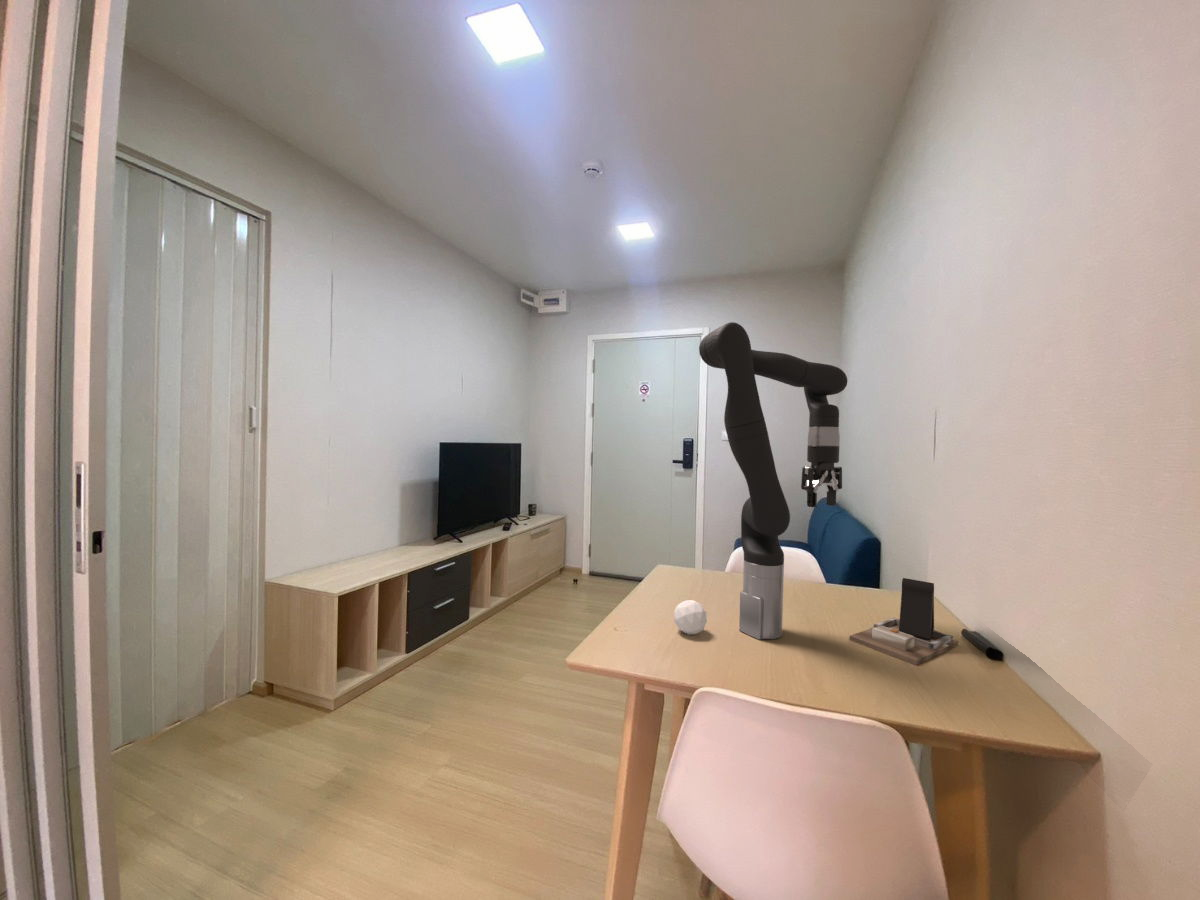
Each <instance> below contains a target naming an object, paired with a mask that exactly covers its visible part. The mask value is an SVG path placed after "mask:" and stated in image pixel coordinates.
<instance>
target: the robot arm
mask: <svg viewBox="0 0 1200 900" xmlns="http://www.w3.org/2000/svg"><path fill="white" fill-rule="evenodd" d="M699 343H700V344H699V346H698V352H699V355H700V358H701V359H702V361H703V362H704V363H705V364H706V365H707V366H710V367H712V368H715V369H722V370H724V372H725V376H726V380H727V394H726V402H725V407H724V415H723V418H724V419H723V421H724V426H725V427H724V428H725V432H726V436H727V442H728V444H729V448H730V450H731V453H732V455H733V457H734V458H735V461H736V463H737V464H738V467H739V468H740V470H741V472H742V474H743V476H744V478H745V482H746V485H747V488H748V489H747V490H748V493H749V497H748V499H746V500H745V502H744V504H743V505H742V509H741V517H740V529H741V531H740V534H741V537H740V539H741V548H742V551H743V573H742V574H743V576H742V578H743V579H742V580H743V581H742V591H740V592H739V593H740V594H739V622H738V624H739V628H738V629H739V630H738V631H740V632H742V633H745V634H747V635H748V636H751V637H753V638H755V639H758V640H775V639H776V640H777V639H780V638H781V637H782V636H783V618H784V617H783V613H784V610H783V609H784V607H783V606H784V573H785V570H784V569H785V568H784V567H785V554H784V551H783V549H782V547H781V544H780V541H779V536H781V535H783V534H784V533H785V532H786V531H787V529H788V528H789V526H790V522H791V514H790V513H791V511H790V509H789V508H790V507H789V505H788V502H787V499H786V497H785V494H784V491H783V489H782V486H781V484H780V480H779V476H778V473H777V470H776V469H777V468H776V464H775V459H774V455H773V450H772V446H771V443H770V437H769V432H768V427H767V423H766V420H765V415H764V412H763V409H762V404H761V400H760V395H759V394H760V393H759V390H758V386H757V380H756V376H760V377H763V378H767V379H770V380H774V381H776V382H779V383H783V384H786V385H789V386H792V387H794V388H803V392H804V396H805V397H804V398H805V399H806V404H807V408H808V412H809V414H808V415H809V418H808V419H809V420H808V427H809V428H808V433H807V448H806V449H807V452H806V453H807V455H806V460H807V462H808V463H810V466H802V469H801V471H802V472H801V485H800V488H801V490H803V491H805V492H806V506H807V508H808V507H809V508H817V505H818V504H817V503H818V493H817V492H818V489H819V487H821V486H822V485H824V486H825V488H826V505H827V506H832V507H834V506H836V505H837V492H838V491H839V490H841V489H843V468H842V466H835V464H838V463H839V461H840V438H841V437H840V428H839V426H840V409H839V407H838V406H837V405H835V404H829V401H828V397H827V396H833V395H837V394H840V393H842V392H843V391H844V390H846V387H847V386H848V377H847V374H846V373H845V372H844V370H843V369H841V368H839V367H838V366H835V365H832V364H828V363H826V364H825V363H819V362H811V361H808V360H806V359H802V358H800V357H797V356H795V355H791V354H788V353H783V352H775V351H765V350H755V349H752V344H751V341H750V336H749V335H748V332H747V331H746V329H745V328H744V326H742V325H741V324H739V323H737V322H734V321H733V322H732V321H730V322H727V323H725V324H723V325H721V326H719V327H718V328H716V329H714V330H712V331H711V332H709V333H708V334H706V335H705V336H704V337H703V338H702V339H701V341H700V342H699Z"/></svg>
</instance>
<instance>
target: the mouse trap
mask: <svg viewBox="0 0 1200 900" xmlns="http://www.w3.org/2000/svg"><path fill="white" fill-rule="evenodd" d="M899 621H900V618H896V617H892V618H889V619H887V620H883V621H880V622H877V623H875V624H873V627H871V628H867V629H865V630H862V631H859V632H857V633H853V634H851V635H849V641H851V640H852V642H854V641H855V642H854V643H856V642H857V643H856V644H859V643H860V644H859V645H862V644H863V645H862V646H864V645H865V646H864V647H867V648H870V649H873V650H875V651H878V652H881V653H883V654H886V655H888V656H891V657H894V658H896V659H899V660H901V661H904V662H906V663H909V664H912V665H915V666H918V665H920V664H922V663H924V662H926V661H928V660H931V659H934V657H937V656H939V655H942V654H944V653H945V652H948V651H950V650H952V649H954V648H956V647H958V646H959V640H956V639H953V638H954V637H953V635H950V634H948V633H944V632H941V631H937V630H935V629H934V632H933V634H932V637H931V640H926V639H922V638H918V637H914V636H912V635H909V634H906V633H903V632H900V631H899Z"/></svg>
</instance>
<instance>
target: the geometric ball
mask: <svg viewBox="0 0 1200 900" xmlns="http://www.w3.org/2000/svg"><path fill="white" fill-rule="evenodd" d="M707 617H708V616H707V611H706V610H705V608H704V606H703V605H702V604H701V603H699V602H697V601H695V600H694V599H692V600H691V599H690V600H688V599H687V600H683V601H682V602H680V603H678V604H677V605H676V607H675V610H674V612H673V619H674V620H673V622H674V624H675V625H676V626H677V628H678V629H679V631H681V632H682V633H684V634H686V633H687V634H686V635H697V634H699V633H700V632H702V631H703V630H704V629H705V627H706V625H707V621H708V620H707Z"/></svg>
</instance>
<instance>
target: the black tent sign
mask: <svg viewBox="0 0 1200 900" xmlns="http://www.w3.org/2000/svg"><path fill="white" fill-rule="evenodd" d="M899 610H900V612H899V620H900V621H899V631H900V632H903V633H906V634H909V635H912V636H914V637H918V638H922V639H926V640H931V637H932V634H933V632H934V630H935V583H934V582H930V581H929V582H928V581H922V580H918V579H917V580H916V579H912V578H911V579H910V578H905V577H903V578H902V580H901V598H900V609H899Z"/></svg>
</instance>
